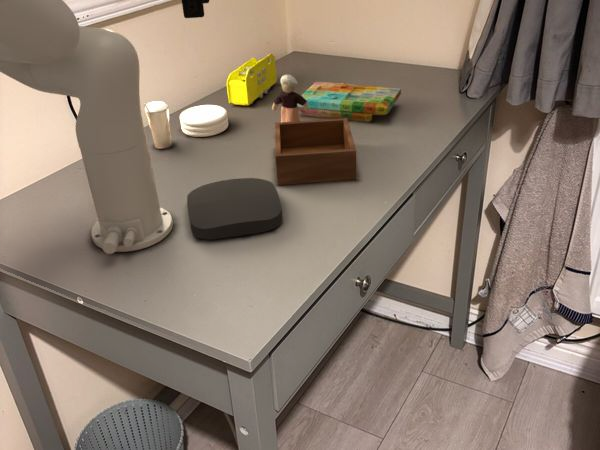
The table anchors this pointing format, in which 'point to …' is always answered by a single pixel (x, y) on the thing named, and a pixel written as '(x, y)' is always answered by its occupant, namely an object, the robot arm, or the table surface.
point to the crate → (314, 151)
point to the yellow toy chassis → (251, 80)
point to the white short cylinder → (204, 120)
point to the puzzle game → (348, 101)
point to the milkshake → (159, 123)
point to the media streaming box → (234, 208)
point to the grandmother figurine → (289, 100)
